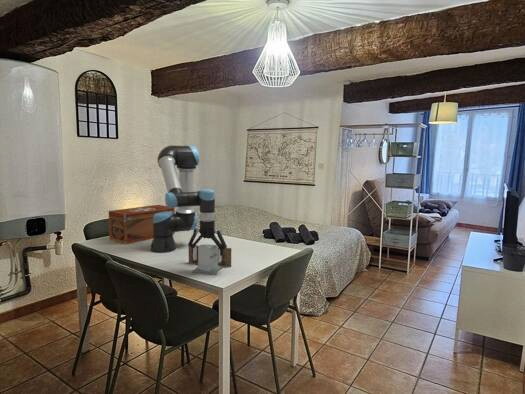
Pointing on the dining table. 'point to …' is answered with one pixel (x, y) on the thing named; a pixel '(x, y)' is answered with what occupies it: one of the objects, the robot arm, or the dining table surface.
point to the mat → (207, 271)
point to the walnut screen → (224, 262)
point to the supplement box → (207, 257)
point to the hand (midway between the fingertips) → (207, 260)
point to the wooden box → (134, 223)
